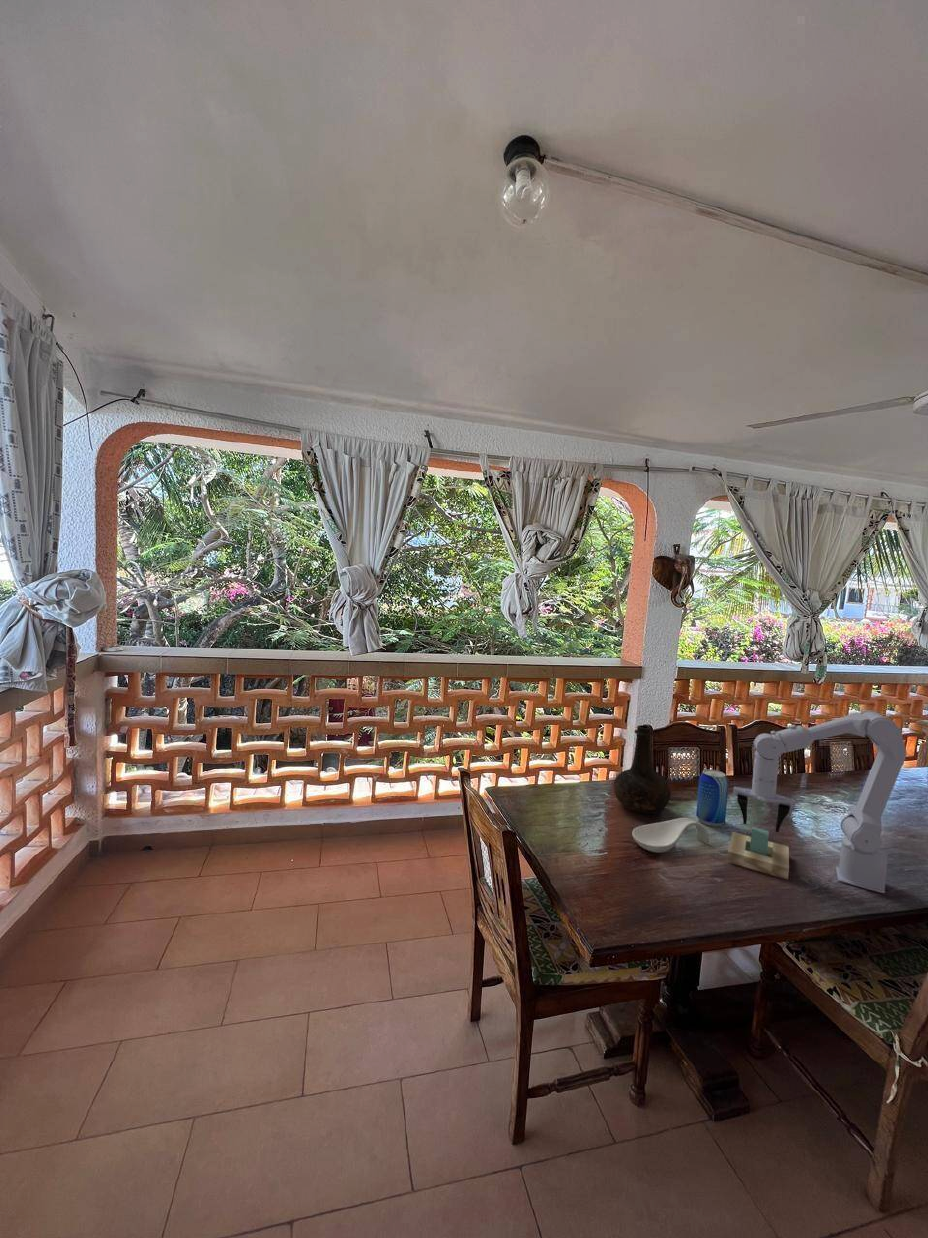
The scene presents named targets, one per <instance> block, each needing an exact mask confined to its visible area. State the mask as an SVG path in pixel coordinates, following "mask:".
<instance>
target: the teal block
mask: <svg viewBox="0 0 928 1238" xmlns="http://www.w3.org/2000/svg"><path fill="white" fill-rule="evenodd" d="M769 832H770V831H769V830H766V829H762V828H757V827H754V826H752V827H751V833H750V837H751V845H750V852H754V853H757V854H761V855H765V856H767V848H768V841H769V838H770V837H769V835H770V833H769Z"/></svg>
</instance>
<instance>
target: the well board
mask: <svg viewBox="0 0 928 1238" xmlns="http://www.w3.org/2000/svg"><path fill="white" fill-rule="evenodd" d="M750 845H751V835H746V834H742V833H739V832H735V831H732V833H731V838H730V843H729V847H728V850H727V861H726V862H727V863H728V864H733V865H736V866H740V867H743V868H746V869H749V870H750V869H751V870H754V871H757V872H761V873H763V874H767V875H771V876H774V877H778V878H781V879H784V880H789V872H790V858H789V857H790V855H789V854H790V853H789V850H790V849H789V846H788V845H785V844H781V843H776V842H773V841H769V840H768V848H767V856H765V855H761V854H757V853H754V852H750Z"/></svg>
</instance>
